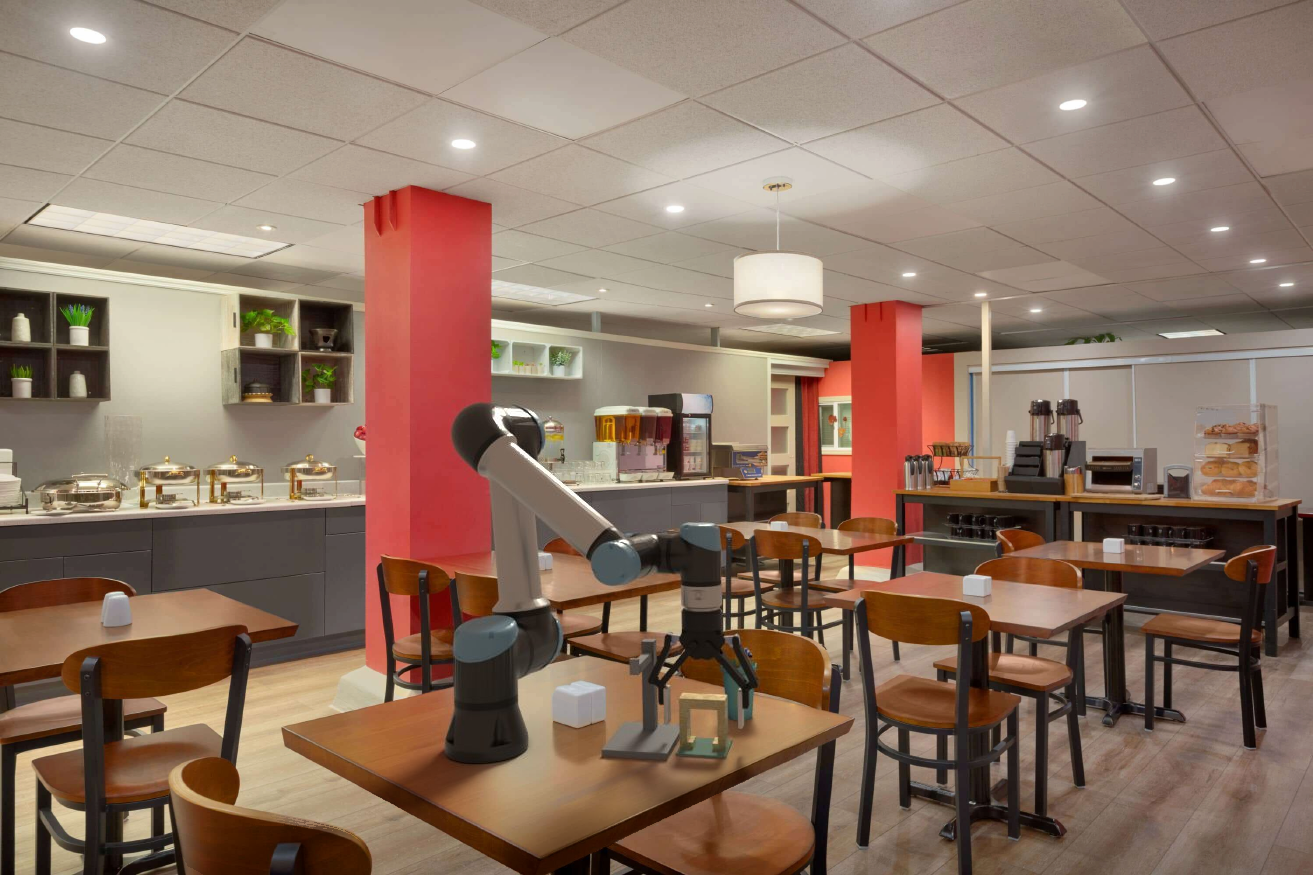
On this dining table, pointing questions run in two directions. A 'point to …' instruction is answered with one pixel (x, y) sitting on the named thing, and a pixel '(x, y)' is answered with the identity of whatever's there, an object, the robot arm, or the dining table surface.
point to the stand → (644, 718)
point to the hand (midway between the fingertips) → (704, 724)
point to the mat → (704, 749)
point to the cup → (733, 688)
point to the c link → (705, 703)
